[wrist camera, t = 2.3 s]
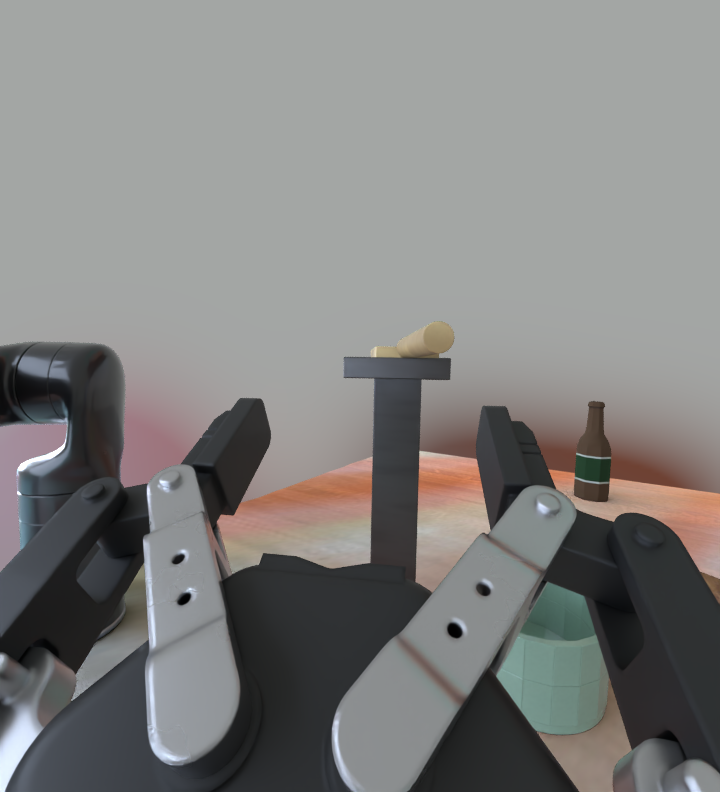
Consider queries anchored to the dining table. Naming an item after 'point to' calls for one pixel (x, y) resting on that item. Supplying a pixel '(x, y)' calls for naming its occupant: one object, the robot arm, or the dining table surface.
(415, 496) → the stand
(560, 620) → the pot
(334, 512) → the dining table surface
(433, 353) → the rice paddle
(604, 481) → the beer bottle
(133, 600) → the dining table surface
